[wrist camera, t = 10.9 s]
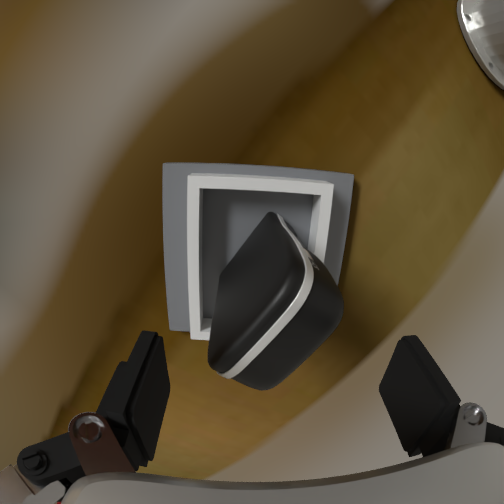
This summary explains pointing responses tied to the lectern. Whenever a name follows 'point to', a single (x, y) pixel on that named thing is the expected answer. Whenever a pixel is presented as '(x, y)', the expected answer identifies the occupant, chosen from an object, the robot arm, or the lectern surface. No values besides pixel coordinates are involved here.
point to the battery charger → (271, 307)
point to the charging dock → (240, 225)
